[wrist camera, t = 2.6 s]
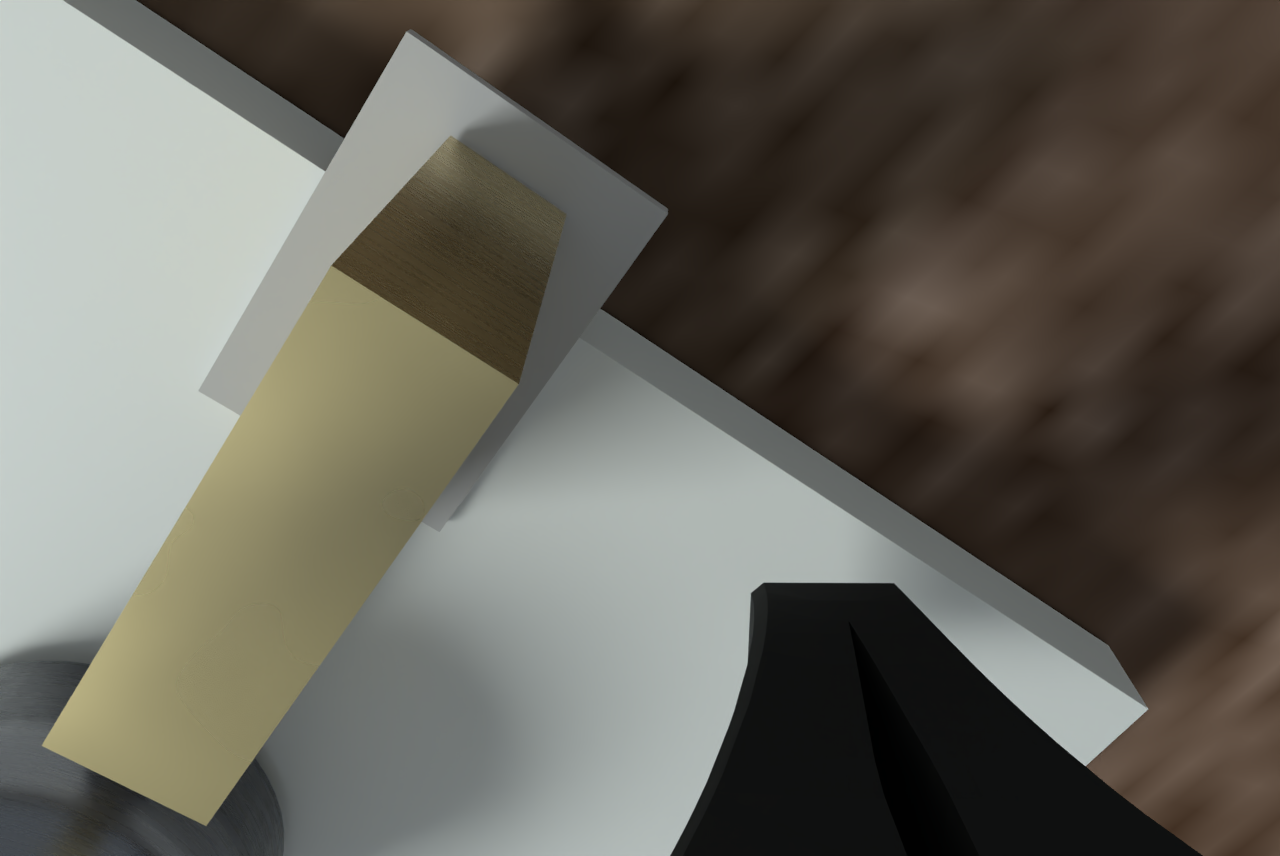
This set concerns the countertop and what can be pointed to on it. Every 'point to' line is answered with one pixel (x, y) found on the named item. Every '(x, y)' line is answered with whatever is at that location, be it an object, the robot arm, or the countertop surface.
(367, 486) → the grey and tan piece
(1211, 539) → the countertop surface
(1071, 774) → the robot arm
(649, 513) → the dial board
